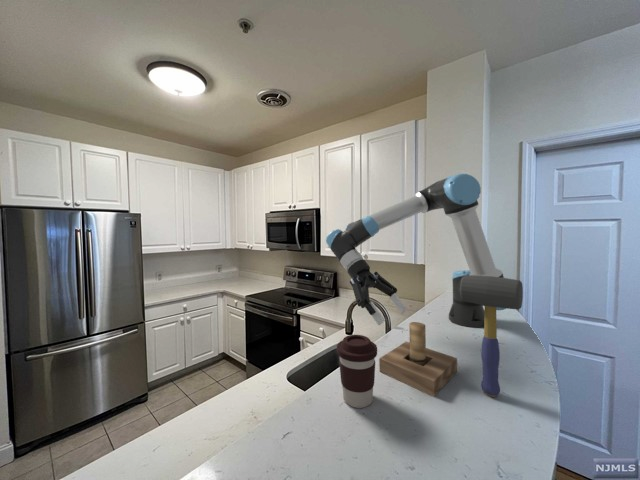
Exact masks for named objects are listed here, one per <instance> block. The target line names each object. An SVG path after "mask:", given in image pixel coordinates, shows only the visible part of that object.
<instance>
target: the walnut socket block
mask: <svg viewBox="0 0 640 480" xmlns="http://www.w3.org/2000/svg"><path fill="white" fill-rule="evenodd" d="M409 354H410V341H405V342H403V343H401V344H400V345H399V346H397V347H395V348H393V349H392V350H390V351H389V352H387V353H385V354H384V355H383V356H381V357H379V368H378V369H379V372H380V373H382V374H384V375H386V376H388V377H390V378H393V379H395V380H396V381H398V382H401V383H404V384H405V385H407V386H410V387H412V388H413V389H416V390H418V391H420V392H423V393H425V394H426V395H429V396H431V397H433V398H435V397H436V396H437V395H438V393H439V392H440V391H441V390H443V389H442V388H444V387H445V386H446V384H447V383H448V382H449V381H450V380H451V379H452V377H453V376H454V375H456V373H457V372H458V357H454V356H452V355H448V354H446V353H443V352H440V351H436V350H434V349H430V348H427V347H426V365H424V366H421V365H419V364H416V363H414V362H411V361H410V358H409Z"/></svg>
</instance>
